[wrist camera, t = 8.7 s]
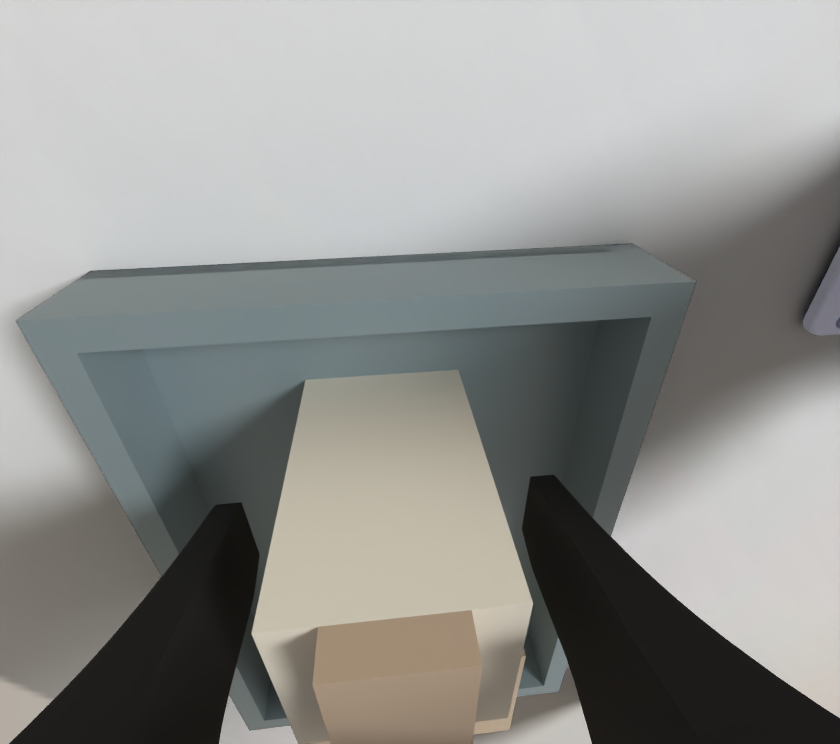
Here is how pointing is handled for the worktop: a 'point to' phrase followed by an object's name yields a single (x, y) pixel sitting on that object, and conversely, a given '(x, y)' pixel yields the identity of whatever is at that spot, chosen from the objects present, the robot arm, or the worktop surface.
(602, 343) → the tray
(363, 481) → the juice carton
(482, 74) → the worktop surface
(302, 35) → the worktop surface
